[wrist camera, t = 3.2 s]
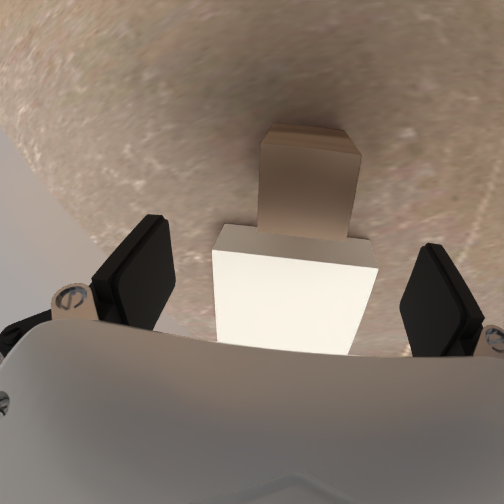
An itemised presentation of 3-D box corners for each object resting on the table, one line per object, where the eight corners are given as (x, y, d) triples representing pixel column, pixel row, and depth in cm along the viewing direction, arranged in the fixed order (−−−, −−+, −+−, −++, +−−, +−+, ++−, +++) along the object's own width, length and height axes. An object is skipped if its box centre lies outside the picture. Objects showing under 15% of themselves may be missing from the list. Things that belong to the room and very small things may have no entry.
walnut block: (273, 122, 20) (260, 143, 14) (344, 130, 20) (361, 155, 14) (269, 187, 23) (256, 231, 17) (335, 194, 22) (345, 242, 16)
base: (224, 223, 25) (212, 249, 22) (369, 239, 24) (378, 268, 20) (227, 324, 32) (218, 353, 28) (339, 337, 30) (341, 368, 27)
